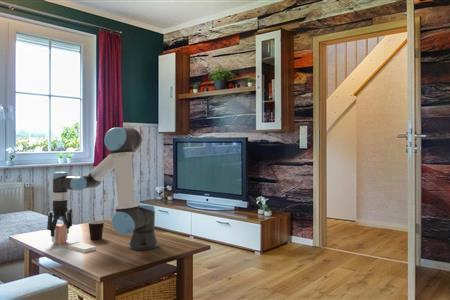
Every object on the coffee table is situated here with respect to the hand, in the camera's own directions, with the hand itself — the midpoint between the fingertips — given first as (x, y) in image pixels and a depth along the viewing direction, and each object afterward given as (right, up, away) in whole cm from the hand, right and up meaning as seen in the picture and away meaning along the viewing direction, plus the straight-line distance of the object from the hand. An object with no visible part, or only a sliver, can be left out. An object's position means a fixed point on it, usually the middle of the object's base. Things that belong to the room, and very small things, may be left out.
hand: (59, 240), depth 206 cm
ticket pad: (+17, -2, -11) cm, 20 cm away
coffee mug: (+17, -2, +11) cm, 21 cm away
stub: (0, -1, 0) cm, 1 cm away
